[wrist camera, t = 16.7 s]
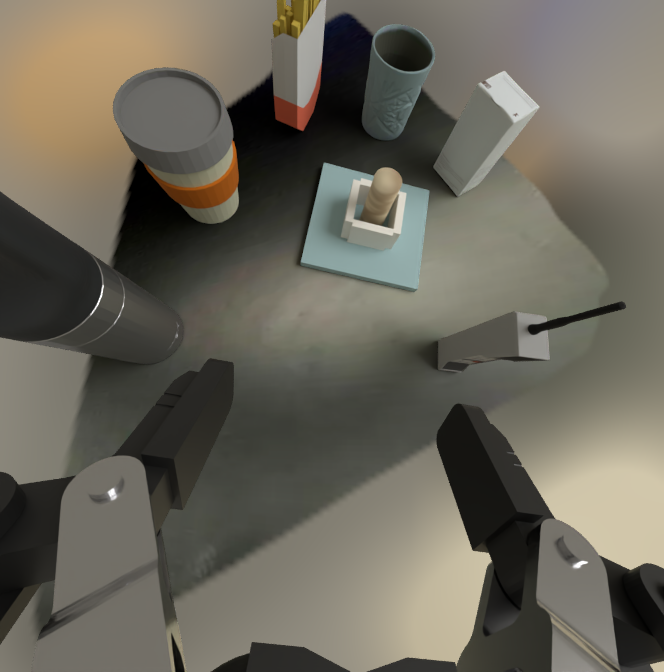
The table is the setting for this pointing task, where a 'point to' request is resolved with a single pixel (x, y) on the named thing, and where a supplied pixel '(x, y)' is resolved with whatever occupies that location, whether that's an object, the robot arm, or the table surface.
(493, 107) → the skincare box
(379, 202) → the maple peg
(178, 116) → the reusable coffee cup
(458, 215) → the table surface
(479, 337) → the vintage mobile phone
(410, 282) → the sleeve holder
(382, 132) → the blue embossed cup
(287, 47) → the french fries container
